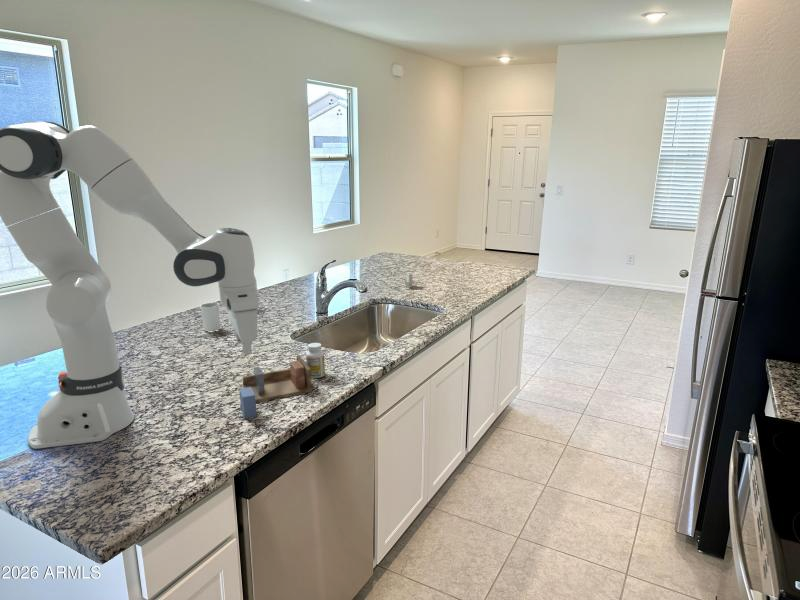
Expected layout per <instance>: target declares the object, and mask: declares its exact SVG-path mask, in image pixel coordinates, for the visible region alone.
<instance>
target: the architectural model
mask: <svg viewBox="0 0 800 600" xmlns="http://www.w3.org/2000/svg"><path fill="white" fill-rule="evenodd" d="M402 284H405V289H406V288H410V287H411V288H413V272H411V273H407V274H406V279H404V281H402ZM411 288H410V289H411Z"/></svg>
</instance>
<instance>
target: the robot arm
mask: <svg viewBox="0 0 800 600" xmlns="http://www.w3.org/2000/svg"><path fill="white" fill-rule="evenodd" d="M66 171H69V172H71V173H73V174H75V175H76V176H78V178H80V179H81V180H82V182H83V183H85V185H86V186H87V187H88V188H89V190H91V191H92V192H93V193H94V194H95V195H96V196H97V198H99V199H100V200H102V201H103V202H104V203H105V204H106V205H107V206H109V207H110V208H111V209H113V210H114V211H115V212H117V213H120V214H123V215H128V216H133V217H136V218H139V219H141V220H143V221H145V222H147V223H148V224H150V225H151V226H152V227H153V228H154V229H155V230H156V231H157V232H158V233H159V234H160V235H161V236H162V237H163V238H164V239H165V240H166V242H168V243H169V244H171V246H172V247H173V248H174V249H175V251H176V254H177V255H176V256H175V258H174V261H173V272H174V275H175V277H176V278H177V280H179V281H180V282H181V283H182V284H184V285H186V286H190V287H201V286H207V285H210V284H214V283H217V284H218V291H219V299H220V300H219V301H220V304H221V305H222V306H224V307H225V308H226V310H227V315H228V320H229V323H230V325H231V326H232V328H233V330H234V332H235V337H236V338H235V339H236V342H237V343H238V344H242V353H243V355H244V356H249V355H252V354H253V353H252V345H253V342H256V341H257V339H258V311H257V310H258V309H259V308H260V302H259V296H258V285H257V278H256V276H255V265H256V263H255V262H256V261H255V253H254V247H253V242H252V239H251V236H250V235H249V234H248V233H247V232H246V231H244V230H242V229H238V228H231V227H222V228H218V229H216V230H215V232H213V233H212V234H210V235H209V236H204V235H202V234H200V233H198V232H196V231H195V230H194V229H193V228H192V227H191V226H190V225H189V224H188V223H187V221H185V219H183V218H182V217H181V216H180V215H179V213H177V211H175V210H174V209H173V207H172V206H171V205H170V204H169V203H168V202H167V201H166V200H165V198H164V197H163V196H162V194H161V193H160V191H159V189H157V187H156V186H155V185H154V182H153V181H152V180H151V179H150V177H149V175H147V174H146V172H145V171H144V169H143V168H142V167H141V166H140V165H139V163H138V162H137V161H136V159H134V158H133V157H132V156H131V154H129V152H127V151H126V150H125V149H124V147H122V146H121V144H119V143H118V142H117V141H116V140H114V139H113V138H112V137H111V136H110V135H109V134H108V133H106V132H105V131H104V130H102V129H101V128H99V127H97V126H94V125H82V126H79V127H76V128H74V129H73V130H70V129H68V128H67V127H65V126H63V125H61V124H59V123H57V122H53V121H27V122H26V121H25V122H22V123H18V124H10V125H7V126H4V127H2V128H0V219H1V220H2V222H3V223H4V225H5V227H6V228H7V231H8V232H9V234H10V235H11V236H12V238H13V240H14V241H15V243H16V244H17V246H18V248H19V249H20V251H21V252H22V253H23V256H24V257H25V258H26V260H27V261H28V262H30V263H31V264H33V265H34V267H36V268H37V269H38V271H40V273H42V274H43V276H44V277H45V278H46V279H47V280H48V281H49V282H50V284H51V287H50V288H49V290H48V293H47V295H46V302H45V304H46V312H47V314H48V316H49V317H50V318H51V321H52V323H53V326H54V328H55V332H56V334H57V336H58V339H59V341H60V342H59V343H60V345H61V348H62V353H63V358H64V364H65V369H66V371H60V372H59V373H58V376H57V379H58V389H59V391H58V392H57V393H56V394H54V396H53V397H51V398H50V399H49V400H48V401H46V402H45V403H44V404H43V406H42V407H41V408H40V410H39V412H38V416H37V422H36V424H35V425H33V427H31V429H30V431H29V433H28V437H27V438H28V440H27V441H28V442H27V443H28V445H29V446H30V447H31V448H32V449H35V450H36V449H44V448H45V449H46V448H52V447H62V446H68V445H69V446H70V445H77V444H78V445H80V444H87V443H95V442H96V443H97V442H101V441H105V440H106V439H108V438H109V437H111V435H113V434H115V433H117V432H119V431H121V430H124V429H125V428H127V427H128V426H129V425H130V424H131V423H132V422H133V421H134V419H135V414H134V412H133V411H132V409H131V406H130V404H129V402H128V401H129V400H128V399H127V396H126V393H125V378H124V371H123V369H122V366H121V365H120V364H119V363H120V362H119V356H118V351H117V343H116V336H115V334H114V333H113V330H112V327H111V324H110V321H109V316H108V311H107V302H108V300H109V298H110V296H111V292H112V286H111V285H112V284H111V282H110V279H109V276H108V275H107V274H106V272H105V271H104V270H103V269H102V268H101V265H100V264H98V262H97V261H96V258H94V256H93V255H92V254H91V253H90V251H89V249H87V247H85V245H84V244H83V243H82V241H81V240H80V239H79V236H78V235H77V233H76V231H75V230H74V229H73V226H72V225H71V223H70V222H69V220H68V219H67V217H66V215H65V213H64V211H63V210H62V208H61V207H60V205H59V203H58V201H57V199H56V198H55V196H54V195H53V192H52V190H51V187H50V182H51V179H52V180H55V179H57V178H59V177H60V176H61V175H62V174H64V173H65V172H66Z"/></svg>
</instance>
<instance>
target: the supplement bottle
mask: <svg viewBox="0 0 800 600" xmlns="http://www.w3.org/2000/svg"><path fill="white" fill-rule="evenodd" d="M307 350H308V351H306V354H305V363H306V364H307V365H308V366H309V368H310V369H311V379H318V378H319V379H320V378H322V377H324V376H325V374H326V369H325V368H326V366H325V352H324V351H323V350H322V344H321V343H320V342H311V343H309V344H308V345H307Z"/></svg>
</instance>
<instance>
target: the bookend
mask: <svg viewBox="0 0 800 600" xmlns="http://www.w3.org/2000/svg"><path fill="white" fill-rule="evenodd" d="M263 373H264V372H263V371H262V369H261V368H260V366H256V367H253V375H254V380H255V388H256V390H257V392H258V394H259V395H262V394H265V389H264V376H263Z"/></svg>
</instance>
